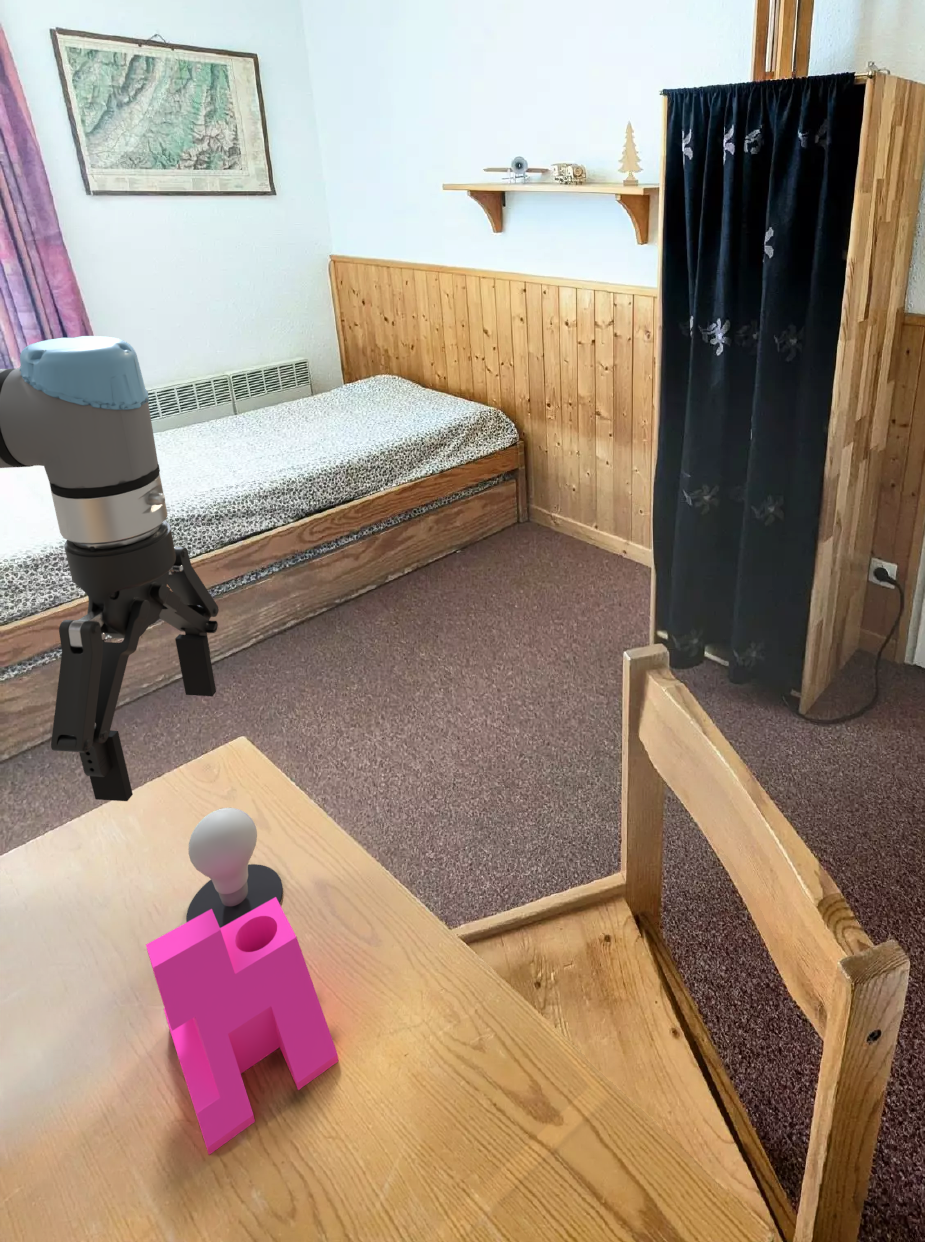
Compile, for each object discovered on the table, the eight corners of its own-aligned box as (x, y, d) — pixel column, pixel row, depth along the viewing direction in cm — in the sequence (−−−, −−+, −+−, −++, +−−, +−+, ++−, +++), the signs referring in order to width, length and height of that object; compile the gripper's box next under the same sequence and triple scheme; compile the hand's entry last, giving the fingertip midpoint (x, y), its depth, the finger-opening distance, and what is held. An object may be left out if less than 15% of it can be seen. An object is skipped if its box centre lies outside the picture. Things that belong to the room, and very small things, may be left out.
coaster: (168, 942, 75) (167, 939, 74) (215, 864, 83) (215, 861, 83) (258, 948, 74) (257, 945, 74) (297, 869, 82) (296, 866, 82)
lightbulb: (281, 888, 80) (266, 805, 76) (233, 938, 75) (214, 852, 71) (238, 867, 82) (221, 786, 78) (189, 914, 77) (168, 829, 73)
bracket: (169, 1028, 67) (145, 944, 64) (287, 956, 73) (271, 875, 70) (208, 1155, 59) (184, 1066, 55) (338, 1060, 65) (324, 975, 61)
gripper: (53, 613, 51) (114, 856, 58) (236, 475, 74) (263, 661, 81) (-56, 607, 51) (19, 850, 58) (161, 472, 74) (194, 657, 82)
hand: (161, 740), depth 70 cm, fingers open, 13 cm apart
